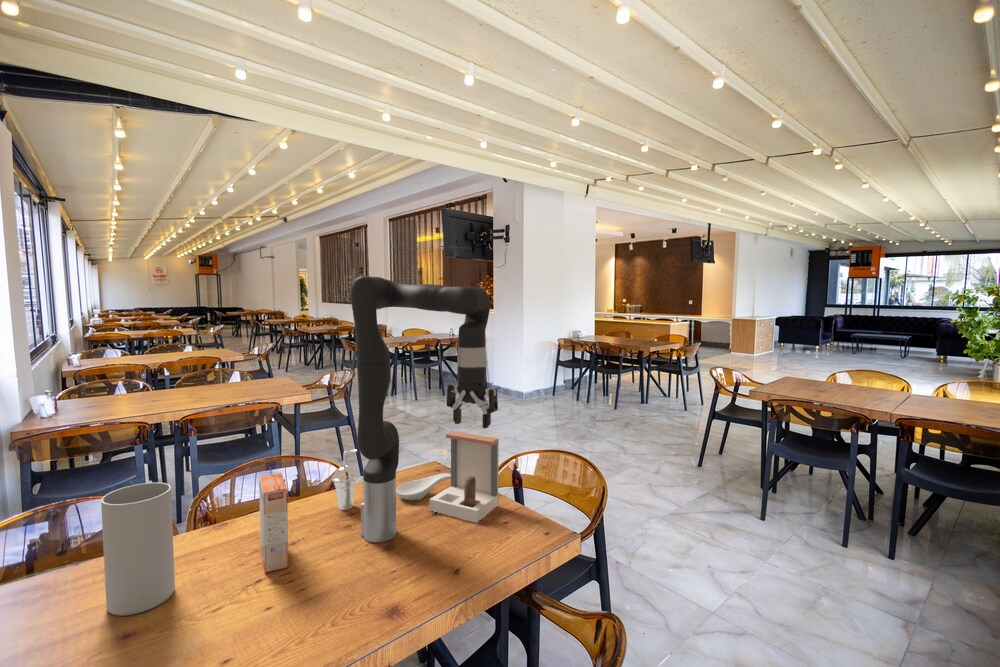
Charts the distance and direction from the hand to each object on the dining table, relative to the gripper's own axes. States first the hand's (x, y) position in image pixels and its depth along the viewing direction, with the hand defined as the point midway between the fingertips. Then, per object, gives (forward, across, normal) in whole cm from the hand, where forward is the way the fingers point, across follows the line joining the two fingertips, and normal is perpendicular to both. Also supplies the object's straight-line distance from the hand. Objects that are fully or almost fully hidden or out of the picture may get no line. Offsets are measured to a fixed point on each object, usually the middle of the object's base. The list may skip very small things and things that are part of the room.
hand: (471, 425), depth 125 cm
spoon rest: (+37, -35, +29) cm, 58 cm away
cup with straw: (+36, -53, +7) cm, 65 cm away
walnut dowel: (+36, -14, +22) cm, 45 cm away
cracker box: (+36, -46, -25) cm, 64 cm away
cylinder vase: (+36, -57, -51) cm, 85 cm away
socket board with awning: (+36, -18, +25) cm, 47 cm away
